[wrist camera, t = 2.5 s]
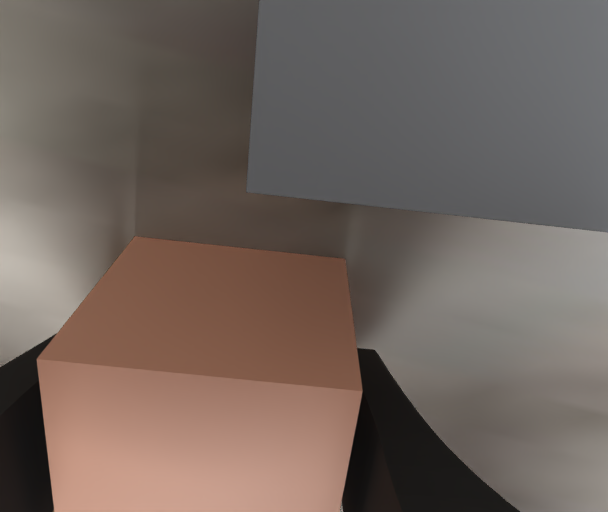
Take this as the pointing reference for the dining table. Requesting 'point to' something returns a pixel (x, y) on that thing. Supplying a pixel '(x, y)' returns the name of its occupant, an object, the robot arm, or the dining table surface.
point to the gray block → (435, 107)
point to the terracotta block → (204, 384)
